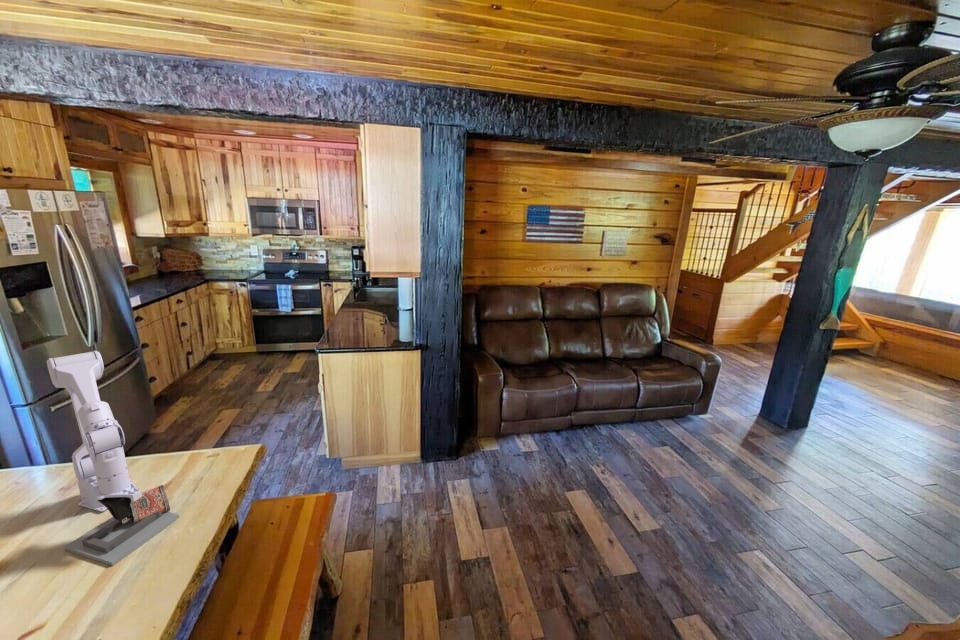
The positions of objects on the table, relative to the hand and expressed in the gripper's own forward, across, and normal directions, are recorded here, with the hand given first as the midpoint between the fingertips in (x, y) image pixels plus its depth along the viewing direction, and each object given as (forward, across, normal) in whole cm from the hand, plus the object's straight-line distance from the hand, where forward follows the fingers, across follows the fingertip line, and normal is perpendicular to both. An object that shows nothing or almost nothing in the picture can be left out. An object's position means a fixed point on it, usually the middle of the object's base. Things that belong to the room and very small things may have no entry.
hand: (122, 517), depth 98 cm
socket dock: (+5, 0, 0) cm, 5 cm away
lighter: (+1, +1, +10) cm, 10 cm away
